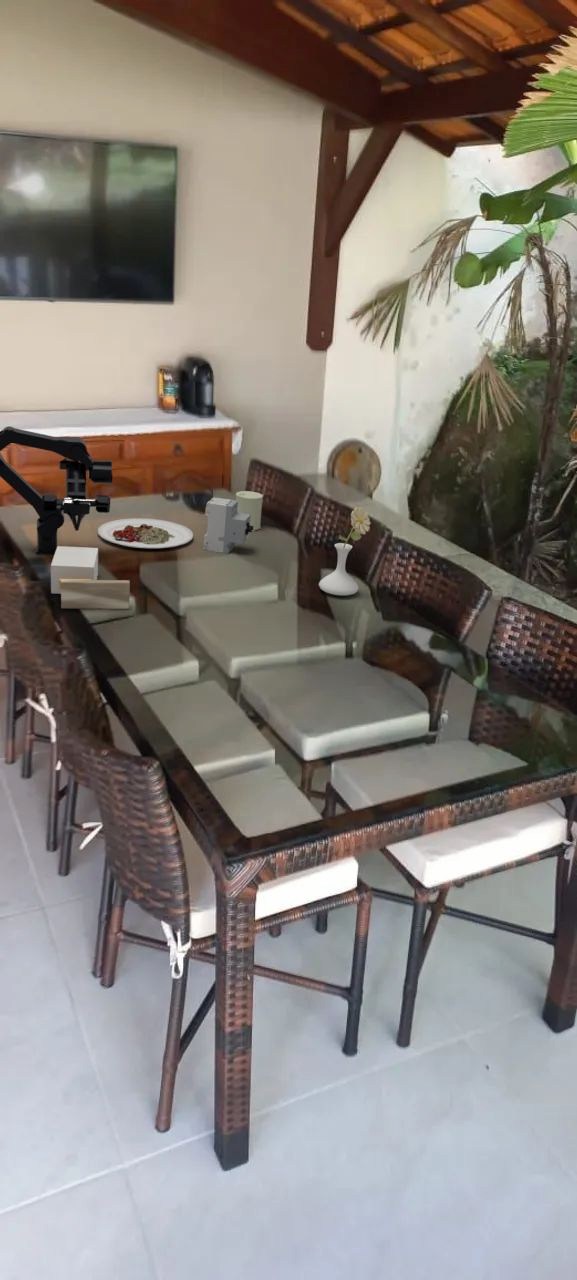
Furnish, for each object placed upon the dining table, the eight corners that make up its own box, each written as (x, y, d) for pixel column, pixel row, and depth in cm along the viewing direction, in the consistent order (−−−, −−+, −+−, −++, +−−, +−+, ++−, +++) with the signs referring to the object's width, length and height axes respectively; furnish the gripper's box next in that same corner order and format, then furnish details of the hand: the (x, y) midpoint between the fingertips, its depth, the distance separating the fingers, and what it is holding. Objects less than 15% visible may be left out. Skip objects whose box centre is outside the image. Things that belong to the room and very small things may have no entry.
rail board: (61, 604, 236) (61, 578, 233) (128, 604, 240) (129, 579, 237) (61, 608, 234) (61, 582, 231) (129, 608, 238) (129, 583, 235)
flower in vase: (330, 600, 256) (340, 513, 246) (311, 586, 265) (320, 502, 255) (370, 596, 262) (381, 511, 252) (349, 583, 271) (360, 500, 261)
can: (231, 523, 316) (233, 489, 311) (257, 523, 319) (260, 490, 314) (236, 531, 308) (238, 496, 303) (263, 532, 310) (265, 497, 306)
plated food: (211, 539, 299) (212, 529, 297) (151, 559, 275) (151, 549, 274) (141, 518, 313) (141, 508, 311) (77, 536, 289) (77, 525, 288)
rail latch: (59, 587, 238) (59, 578, 237) (91, 588, 240) (91, 579, 239) (59, 589, 237) (59, 580, 236) (91, 589, 238) (91, 580, 237)
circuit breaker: (247, 556, 285) (251, 509, 279) (203, 549, 287) (205, 502, 281) (253, 549, 292) (256, 503, 286) (209, 542, 294) (212, 497, 288)
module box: (57, 573, 257) (57, 546, 254) (97, 575, 259) (98, 548, 256) (51, 594, 243) (50, 565, 239) (93, 595, 244) (93, 567, 241)
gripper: (108, 495, 274) (109, 543, 269) (43, 493, 270) (43, 542, 264) (109, 476, 264) (111, 525, 259) (42, 474, 259) (42, 524, 254)
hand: (76, 530), depth 259 cm, fingers closed
